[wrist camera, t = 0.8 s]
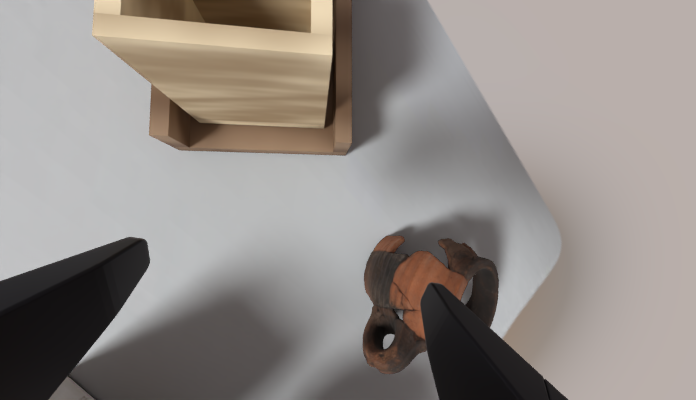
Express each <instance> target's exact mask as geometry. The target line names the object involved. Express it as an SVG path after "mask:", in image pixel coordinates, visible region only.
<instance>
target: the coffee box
mask: <svg viewBox="0 0 696 400" xmlns="http://www.w3.org/2000/svg"><path fill="white" fill-rule="evenodd" d="M49 400H95V399H94V398H93V397H91V396H90V395H89V394H88V393H87V392H86V391H84V390H83V389H82V388H81V387H80V386H78V385H77V384H76V383H75V382H74V381H73V380H71V379H70V378H69V377H68V376H67V378H66V379H65V380H64V381H63V382H62V384H61V385H60V386H59V387H58V389H57V390H56V391H55V392H54V394H53V395H52V396H51V397H50V399H49Z"/></svg>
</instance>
